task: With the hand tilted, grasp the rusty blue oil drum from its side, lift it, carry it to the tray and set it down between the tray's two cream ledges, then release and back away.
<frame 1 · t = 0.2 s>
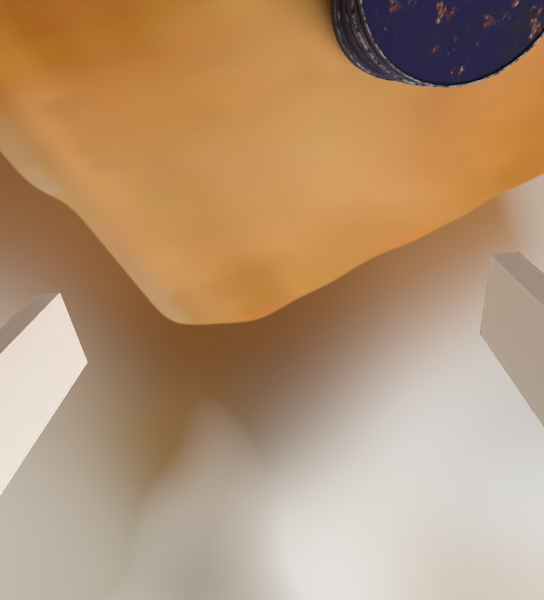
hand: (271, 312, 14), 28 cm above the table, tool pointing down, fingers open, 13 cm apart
rusty blue oil drum: (396, 5, 33), on the table
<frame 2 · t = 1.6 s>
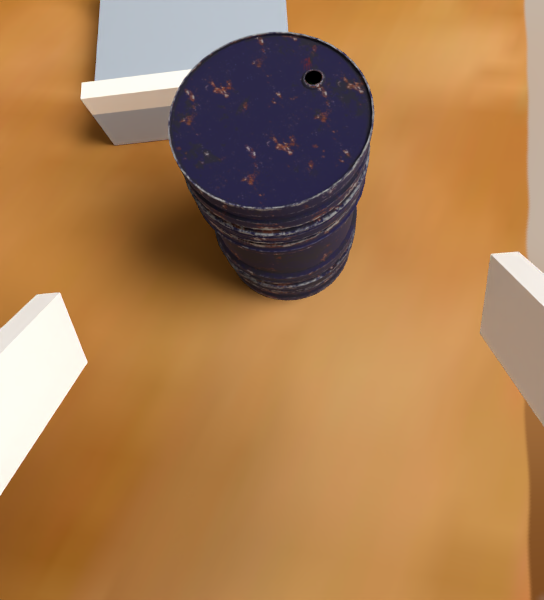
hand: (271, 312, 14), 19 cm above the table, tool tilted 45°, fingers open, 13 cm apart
tray: (202, 60, 40), on the table
rusty blue oil drum: (289, 242, 35), on the table
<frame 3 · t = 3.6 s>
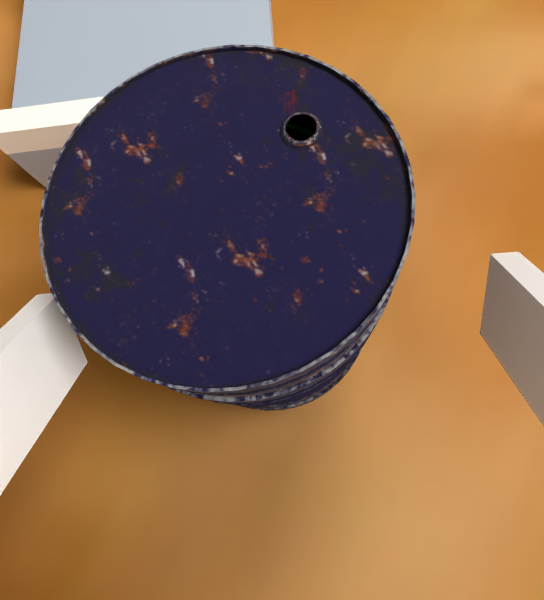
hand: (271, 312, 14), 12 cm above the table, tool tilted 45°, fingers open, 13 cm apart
tray: (163, 75, 31), on the table
rusty blue oil drum: (276, 324, 26), on the table
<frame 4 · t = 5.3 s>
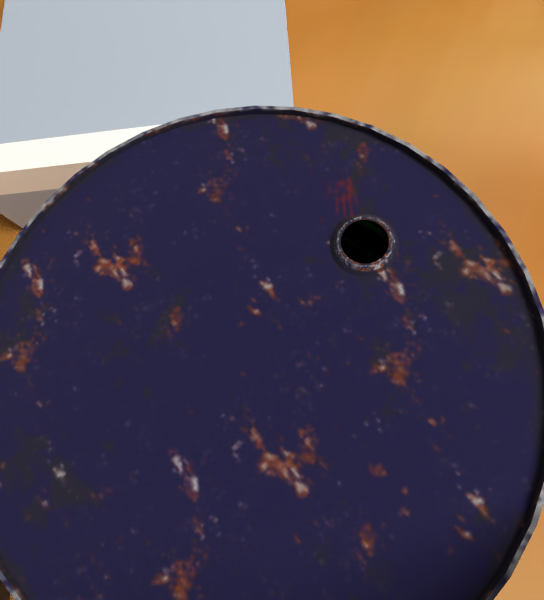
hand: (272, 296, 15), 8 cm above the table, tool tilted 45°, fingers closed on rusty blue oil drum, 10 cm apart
tray: (162, 100, 27), on the table
rusty blue oil drum: (293, 402, 22), on the table, touching gripper
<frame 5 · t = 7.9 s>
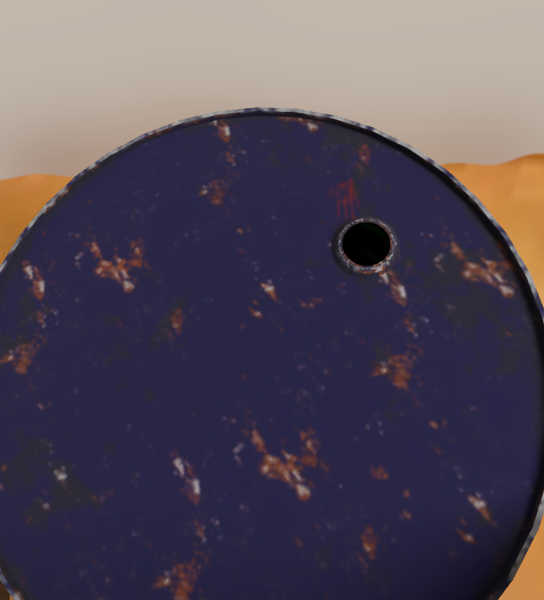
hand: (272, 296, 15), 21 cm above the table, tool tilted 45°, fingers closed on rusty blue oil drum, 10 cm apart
rusty blue oil drum: (293, 403, 22), point 12 cm above the table, touching gripper
when the fingers open (13 cm above the table, at t = 10.5 s): rusty blue oil drum stays where it is, resting on tray.
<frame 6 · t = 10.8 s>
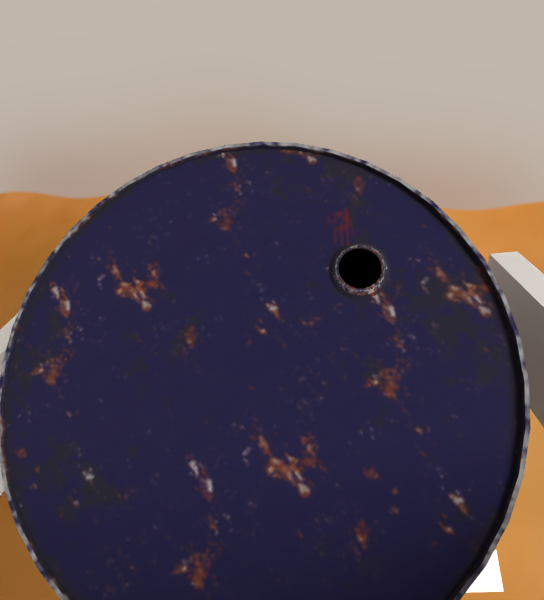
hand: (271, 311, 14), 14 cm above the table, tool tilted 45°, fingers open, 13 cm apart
tray: (298, 405, 26), on the table
rusty blue oil drum: (294, 404, 22), point 4 cm above the table, touching tray
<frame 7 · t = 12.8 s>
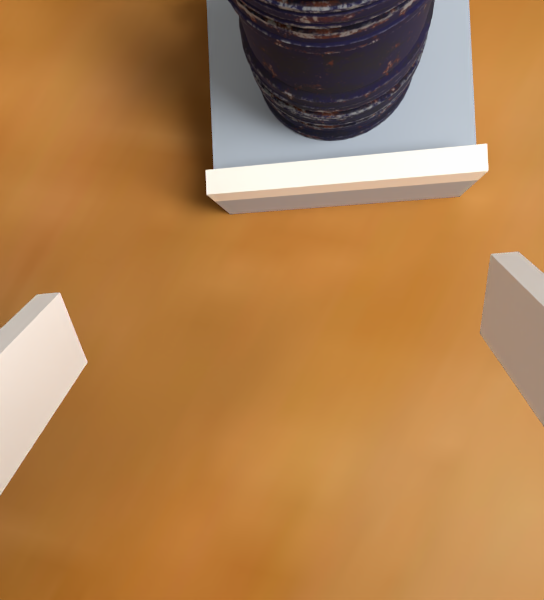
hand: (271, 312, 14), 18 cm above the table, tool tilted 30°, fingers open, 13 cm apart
tray: (335, 93, 31), on the table
rusty blue oil drum: (334, 65, 27), point 4 cm above the table, touching tray
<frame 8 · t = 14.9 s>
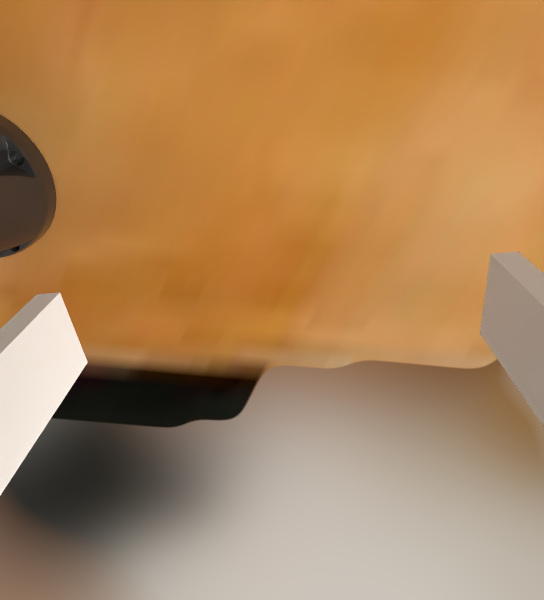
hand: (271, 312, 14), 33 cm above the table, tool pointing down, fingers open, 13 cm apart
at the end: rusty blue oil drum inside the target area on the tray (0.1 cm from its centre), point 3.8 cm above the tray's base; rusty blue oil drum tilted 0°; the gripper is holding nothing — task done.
